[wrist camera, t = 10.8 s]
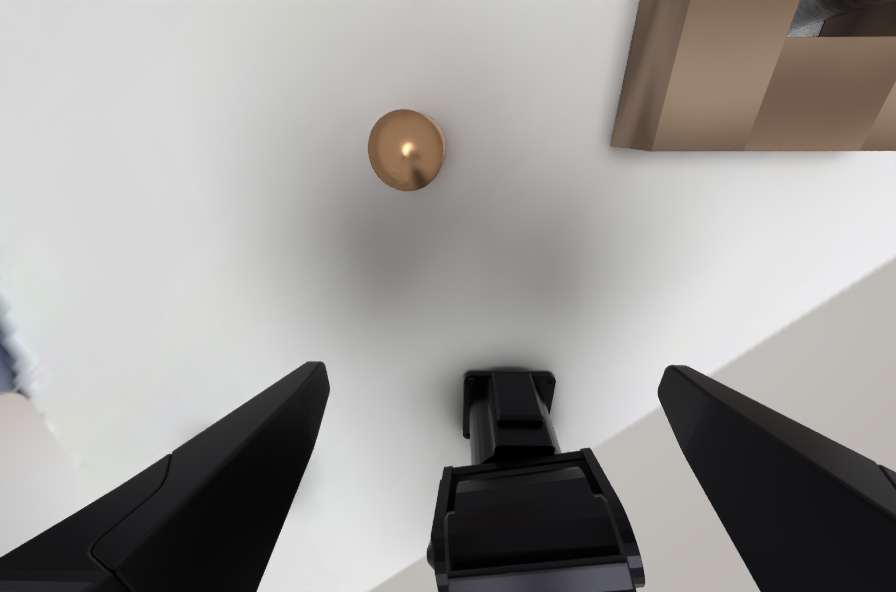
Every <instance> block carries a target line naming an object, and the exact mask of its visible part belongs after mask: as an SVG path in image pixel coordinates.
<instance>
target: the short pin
mask: <svg viewBox="0 0 896 592" xmlns="http://www.w3.org/2000/svg"><path fill="white" fill-rule="evenodd" d="M445 149H446V144H445V137H444V134H443V132H442V130H441V128H440V127H439V125H438V124H437V123H436V122H435V121H434V120H433V119H431V118H430V117H428V116H426V115H423V114H421V113H418V112H415V111H411V110H404V109H403V110H395V111H392V112H389V113H387V114H386V115H384V116H383V117H382V118H380V119H379V120H378V122H377V123H376V124H375V126H374V127H373V129H372V131H371V134H370V137H369V142H368V154H369V159H370V162H371V165H372V167H373V169H374V171H375V173H376V174H377V175H378V177H379V178H380V179H381V180H382V181H383V182H384V183H386V184H387V185H389V186H390V187H392V188H395V189H398V190H402V191H414V190H418V189H421V188H423V187H425V186H426V185H428V184H429V183H430V182H431V181H432V180H433V179H434V178H435V177H436V175H437V173H438V172H439V169H440V167H441V164H442V161H443V158H444V155H445Z"/></svg>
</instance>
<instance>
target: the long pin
mask: <svg viewBox="0 0 896 592" xmlns="http://www.w3.org/2000/svg"><path fill="white" fill-rule="evenodd" d="M892 1H896V0H800V1H799V4H798V7H797V9H796V12H795V15H794V17H793V20H792V23H791V25H790V28H789V31H790V30H793V29H797V28H801V27H804V26H808V25H811V24H815V23H818V22H822V21H825V20H829V19H832V18H836V17H839V16H843V15H846V14H850V13H853V12H857V11H860V10H864V9H867V8H871V7H874V6H878V5H882V4H885V3H889V2H892Z"/></svg>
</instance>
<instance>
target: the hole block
mask: <svg viewBox="0 0 896 592" xmlns="http://www.w3.org/2000/svg"><path fill="white" fill-rule="evenodd" d="M799 1H800V0H640V3H639V8H638V13H637V18H636V23H635V28H634V33H633V37H632V42H631V47H630V52H629V57H628V62H627V67H626V72H625V77H624V82H623V87H622V92H621V97H620V102H619V107H618V112H617V116H616V121H615V126H614V131H613V136H612V141H611V146H616V147H623V148H631V149H639V150H646V151H896V1H892V2H889V3H885V4H882V5H878V6H874V7H871V8H867V9H864V10H860V11H857V12H853V13H850V14H846V15H843V16H839V17H836V18H832V19H829V20H826V21H825V23H824V25H823V28H822V30H821V33H820V35H819V37H786V36H787V34H788V31H789V28H790V25H791V23H792V20H793V17H794V15H795V12H796V9H797V7H798V4H799Z"/></svg>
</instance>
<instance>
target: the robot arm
mask: <svg viewBox="0 0 896 592" xmlns="http://www.w3.org/2000/svg"><path fill="white" fill-rule="evenodd" d="M469 378H473V380H469ZM547 379H550V380H547ZM546 380H547V381H546ZM555 383H556V379H555V377H554V375H553V374H552V373H549V372H468V373H466V374H465V375H464V399H463V436H464V438H466V439H470V443H471V464H472V465H469V466H461V467H454V468H453V466H449V467H444V470H443V476H442V480H440V485H439V490H438V496H437V502H436V508H435V514H434V520H433V526H432V531H431V539H430V542H429V545H428V548H427V561H428V563H429V564H430V565H431V567H432V568H433V569H434V570H435V576H436V582H437V587H438V592H636V588H638V587H644V585H645V575H644V569H643V564H642V560H641V556H640V552H639V549H638V545H637V542H636V539H635V536H634V533H633V530H632V528H631V525H630V522H629V520H628V517H627V515H626V513H625V510H624V508H623V506H622V504H621V502H620V500H619V498H618V497H617V495H616V493H615V491H614V489H613V488H612V486H611V484H610V482H609V480H608V479H607V477H606V475H605V473H604V472H603V470H602V468H601V466H600V464H599V463H598V461H597V459H596V457H595V456H594V454H593V452H592V450H591V449H590V448H583V449H580V451H574V452H566V453H561V450H560V447H559V443H558V440H557V437H556V434H555V431H554V428H553V425H552V422H551V419H550V416H549V415H550V409H551V404H552V399H553V394H554V388H555ZM329 392H330V385H329V380H328V375H327V371H326V366H325V364H324V363H323V362H321V361H309V362H306V363H305V364H303V365H302V366H300V367H299V368H297V369H296V370H294V371H293V372H291V373H290V374H288V375H287V376H285V377H283V378H282V379H280V380H279V381H277V382H276V383H274V384H273V385H271V386H270V387H268V388H267V389H265V390H264V391H262V392H261V393H259V394H258V395H256V396H255V397H253V398H252V399H250V400H249V401H247V402H246V403H244V404H243V405H241V406H240V407H238V408H237V409H235V410H234V411H232V412H231V413H229V414H228V415H226V416H225V417H223V418H222V419H220V420H219V421H217V422H216V423H214V424H213V425H211V426H210V427H208V428H207V429H205V430H204V431H202V432H201V433H199V434H198V435H196V436H195V437H193V438H192V439H190V440H189V441H187V442H186V443H184V444H183V445H181V446H180V447H178V448H177V449H175V450H174V451H173V452H172V454H168V455H166V456H165V457H163V458H162V459H160V460H159V461H157V462H156V463H154V464H153V465H151V466H150V467H148V468H147V469H145V470H143V471H142V472H140V473H139V474H137V475H136V476H134V477H133V478H131V479H129V480H128V481H126V482H125V483H123V484H122V485H120V486H119V487H117V488H115V489H114V490H112V491H110V492H109V493H107V494H106V495H104V496H102V497H101V498H99V499H97V500H96V501H94V502H92V503H91V504H89V505H88V506H86V507H84V508H83V509H81V510H79V511H78V512H76V513H75V514H73V515H71V516H69V517H68V518H66V519H64V520H62V521H61V522H59V523H57V524H56V525H54V526H52V527H51V528H49V529H47V530H46V531H44V532H43V533H41V534H39V535H37V536H36V537H34V538H33V539H31V540H29V541H27V542H26V543H24V544H22V545H20V546H19V547H17V548H15V549H14V550H12V551H10V552H9V553H7V554H5V555H4V556H2V557H0V592H257V589H258V587H259V584H260V582H261V579H262V577H263V574H264V572H265V569H266V567H267V564H268V562H269V559H270V557H271V554H272V552H273V549H274V547H275V544H276V542H277V539H278V537H279V534H280V532H281V529H282V527H283V524H284V522H285V519H286V517H287V514H288V512H289V509H290V507H291V504H292V502H293V499H294V497H295V494H296V492H297V489H298V487H299V484H300V482H301V479H302V477H303V474H304V472H305V469H306V467H307V465H308V462H309V460H310V457H311V454H312V452H313V449H314V446H315V443H316V439H317V436H318V432H319V429H320V425H321V422H322V418H323V414H324V411H325V407H326V404H327V400H328V396H329ZM658 398H659V400H660V403H661V405H662V407H663V409H664V412H665V414H666V416H667V418H668V421H669V423H670V425H671V428H672V430H673V432H674V434H675V437H676V439H677V441H678V443H679V446H680V448H681V450H682V452H683V454H684V456H685V458H686V460H687V461H688V463H689V465H690V467H691V469H692V470H693V472H694V474H695V476H696V477H697V479H698V481H699V483H700V485H701V486H702V488H703V490H704V492H705V494H706V495H707V497H708V499H709V501H710V502H711V504H712V506H713V508H714V510H715V511H716V513H717V515H718V517H719V518H720V520H721V522H722V524H723V526H724V527H725V529H726V531H727V533H728V534H729V536H730V538H731V540H732V541H733V543H734V545H735V547H736V548H737V550H738V552H739V554H740V556H741V557H742V559H743V561H744V563H745V565H746V566H747V568H748V570H749V572H750V573H751V575H752V577H753V579H754V581H755V582H756V584H757V586H758V588H759V590H760V591H761V592H896V472H894V471H892V470H890V469H888V468H886V467H884V466H882V465H877V464H876V463H875V462H874V461H872V460H871V459H869V458H867V457H865V456H863V455H861V454H859V453H857V452H855V451H853V450H851V449H849V448H847V447H845V446H843V445H841V444H839V443H837V442H835V441H833V440H831V439H829V438H827V437H825V436H823V435H821V434H820V433H818V432H815V431H814V430H812V429H810V428H808V427H806V426H804V425H802V424H800V423H798V422H796V421H794V420H792V419H790V418H788V417H786V416H784V415H782V414H780V413H778V412H776V411H774V410H772V409H770V408H768V407H767V406H765V405H762V404H760V403H759V402H757V401H755V400H753V399H751V398H749V397H747V396H745V395H743V394H741V393H739V392H737V391H735V390H733V389H731V388H729V387H727V386H725V385H723V384H721V383H720V382H717V381H715V380H713V379H712V378H710V377H708V376H706V375H704V374H702V373H700V372H698V371H696V370H694V369H692V368H690V367H688V366H685V365H670V366H668V367H667V368H666V369H665V371H664V374H663V377H662V379H661V382H660V384H659V387H658ZM468 432H470V433H468Z"/></svg>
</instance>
